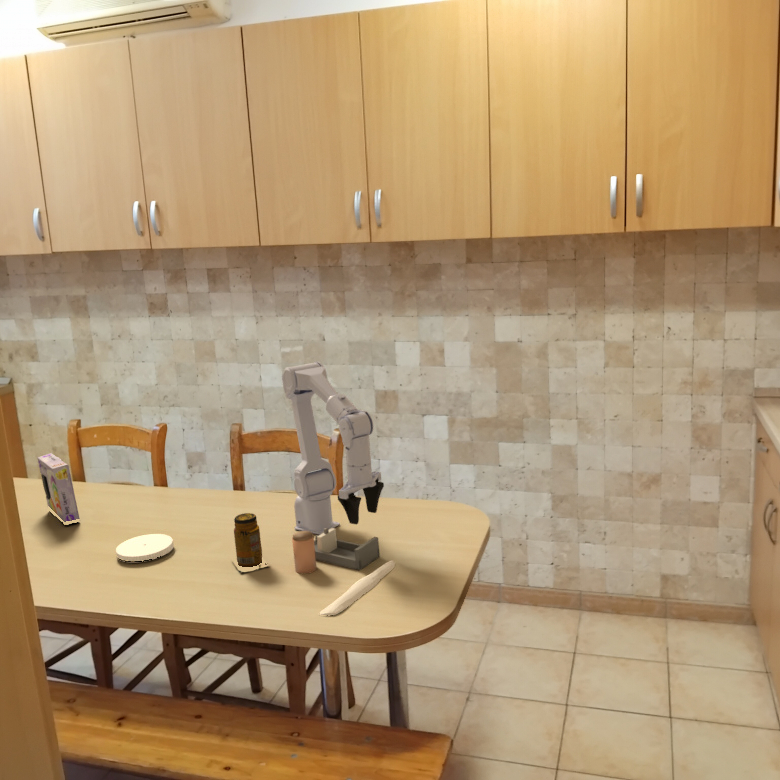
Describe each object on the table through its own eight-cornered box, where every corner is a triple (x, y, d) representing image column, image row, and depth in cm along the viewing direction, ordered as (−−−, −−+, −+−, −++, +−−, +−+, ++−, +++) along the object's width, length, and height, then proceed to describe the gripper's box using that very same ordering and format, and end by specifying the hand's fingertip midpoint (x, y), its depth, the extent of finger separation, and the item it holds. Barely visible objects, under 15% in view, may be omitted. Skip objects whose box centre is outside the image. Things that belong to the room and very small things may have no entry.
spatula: (388, 561, 188) (388, 552, 187) (403, 567, 186) (403, 557, 185) (316, 618, 165) (316, 608, 164) (332, 625, 163) (333, 615, 162)
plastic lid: (180, 556, 200) (179, 546, 199) (123, 571, 193) (121, 561, 193) (166, 538, 212) (165, 529, 211) (112, 552, 206) (110, 543, 205)
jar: (290, 571, 186) (287, 536, 184) (304, 562, 190) (301, 529, 188) (307, 575, 183) (303, 540, 182) (321, 566, 187) (317, 532, 186)
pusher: (318, 556, 192) (316, 532, 191) (333, 546, 197) (331, 524, 196) (322, 556, 192) (320, 533, 190) (337, 547, 196) (335, 525, 195)
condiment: (260, 554, 197) (255, 509, 194) (270, 567, 189) (265, 519, 187) (231, 562, 194) (225, 515, 191) (240, 575, 186) (235, 527, 184)
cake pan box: (45, 511, 239) (36, 454, 235) (63, 506, 242) (53, 450, 238) (63, 528, 224) (52, 468, 220) (81, 523, 226) (71, 464, 223)
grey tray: (296, 555, 195) (294, 536, 194) (317, 542, 201) (315, 524, 200) (359, 570, 184) (357, 550, 183) (379, 556, 191) (378, 537, 189)
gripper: (354, 474, 179) (359, 531, 182) (390, 456, 190) (393, 509, 193) (329, 471, 182) (334, 526, 185) (365, 452, 194) (369, 505, 197)
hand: (363, 517), depth 190 cm, fingers open, 7 cm apart
